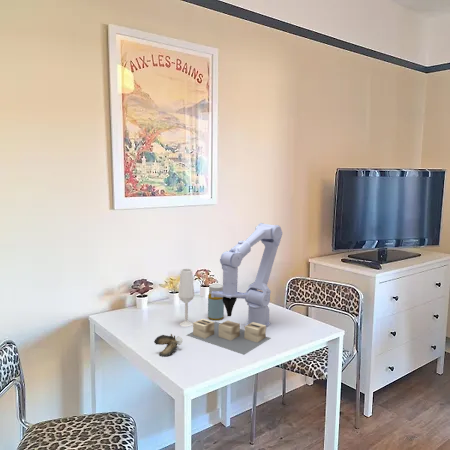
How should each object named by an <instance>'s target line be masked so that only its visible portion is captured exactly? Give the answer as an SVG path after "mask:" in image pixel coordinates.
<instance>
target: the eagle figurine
mask: <svg viewBox="0 0 450 450" xmlns="http://www.w3.org/2000/svg"><path fill="white" fill-rule="evenodd" d="M153 342H154V344H155V345H162V346H164V345H165V346H164V349H163V350H161V351H160V352H159V353H158V356H159V357H162V358H163V357H169V356H170V355H171V354H172V353H173V352H175V351H176V350H177V348H178V346H182V343H183V338H182V337H181V336H177V337H176V335H173V334H172V333H170V335H165V334H160V335H158V336H157V337H156V338H155V339H154V341H153Z"/></svg>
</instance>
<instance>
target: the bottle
mask: <svg viewBox="0 0 450 450" xmlns="http://www.w3.org/2000/svg"><path fill="white" fill-rule="evenodd" d="M208 291H209V292H208V295H207V318H208V320H209V321H222V320H223V319H224V318H225V316H224V312H225V311H224V310H225V309H224V308H225V305H224V303H223V301H222V300H223V297H211V292H212V291H223V284H219V283H213V284H209V286H208Z"/></svg>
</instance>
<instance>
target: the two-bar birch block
mask: <svg viewBox="0 0 450 450" xmlns="http://www.w3.org/2000/svg"><path fill="white" fill-rule="evenodd" d="M214 322H215V321H213V320H210V319H206V318H201V319H199V320H196V321H194V322H192V323H193V325H192V326H193V327H192V332H193V335H195V336H198V337H201V338H204V339H205V338H207V337H209V336H211V335H213V334H214Z"/></svg>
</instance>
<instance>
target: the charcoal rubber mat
mask: <svg viewBox="0 0 450 450" xmlns="http://www.w3.org/2000/svg"><path fill="white" fill-rule="evenodd" d="M213 322H214V334H213V335H211V336H209V337H207V338H205V339H204V338H201V337H198V336H195V335H193V331H192V332H189V333H187V334H186V337H190V338H192V339H197V340H199V341H202V342H205V343H208V344H211V345H214V346H217V347H219V348H223V349H226V350H229V351H231V352H235V353H238V354H241V355H246V354H248V353H250V352H251V351H253V350H254V349H256V348H257V347H259V346H261V345H262V344H264V343H266V342H267V341H269V340H270V339H272V338H271V337H269V336H266V338H264V339H262V340H261V341H259V342H254V341H251V340H248V339H244V337H245V329H241V328H240V336H238V337H236V338H235V339H233V340H227V339H224V338H221V337H219V324H221V323H222V322H217V321H213Z"/></svg>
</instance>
